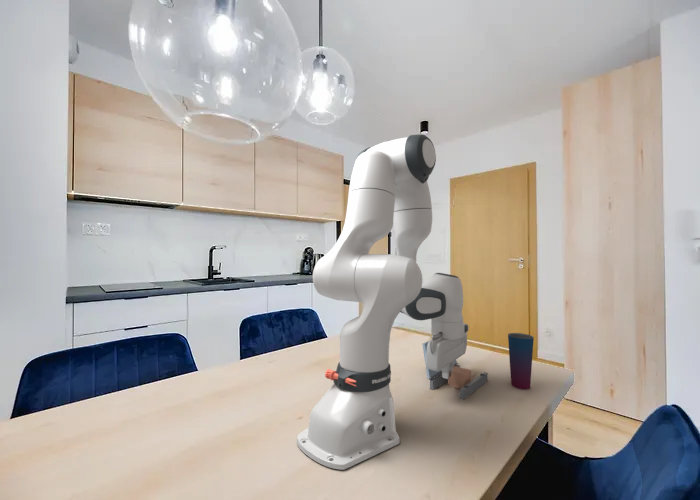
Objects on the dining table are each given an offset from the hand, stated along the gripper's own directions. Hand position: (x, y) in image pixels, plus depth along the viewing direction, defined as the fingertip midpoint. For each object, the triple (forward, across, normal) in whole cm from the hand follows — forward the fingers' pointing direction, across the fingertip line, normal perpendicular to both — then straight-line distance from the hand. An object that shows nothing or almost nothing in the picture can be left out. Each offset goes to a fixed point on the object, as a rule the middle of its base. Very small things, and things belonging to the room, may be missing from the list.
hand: (447, 377), depth 92 cm
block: (+4, +6, -1) cm, 7 cm away
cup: (+4, +17, -15) cm, 24 cm away
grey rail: (+4, +6, -1) cm, 7 cm away
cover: (-4, +6, +4) cm, 9 cm away
